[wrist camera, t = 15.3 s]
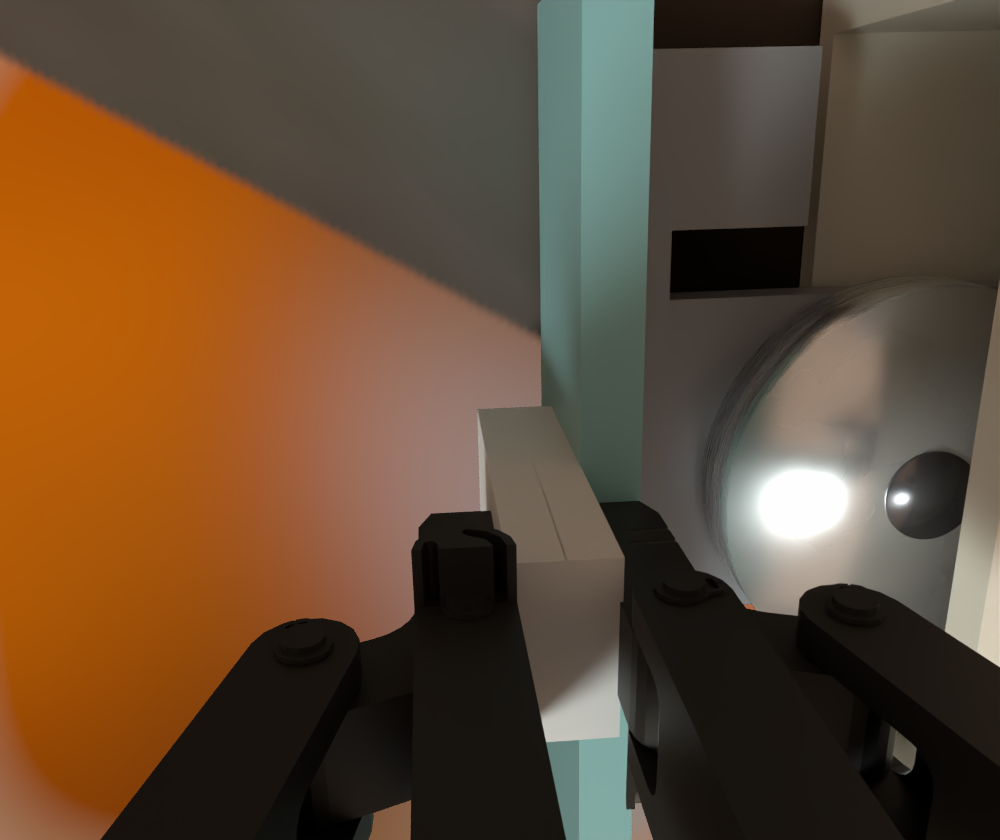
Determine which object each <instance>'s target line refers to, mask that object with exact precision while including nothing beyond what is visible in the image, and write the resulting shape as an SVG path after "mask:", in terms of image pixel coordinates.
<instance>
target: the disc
mask: <svg viewBox="0 0 1000 840" xmlns="http://www.w3.org/2000/svg"><path fill="white" fill-rule="evenodd" d="M997 293H998V289H994V288H990V287H986V286H982V285H978V284H974V283H970V282H966V281H962V280H957V279H951V278H946V277H940V276H926V275H906V276H897V277H887V278H882V279H877V280H873V281H869V282H865V283H861V284H857V285H855V286H852V287H849V288H847V289H844V290H841V291H839V292H836V293H835V294H832V295H831V296H829V297H827V298H825V299H823V300H821V301H819V302H817V303H815V304H813V305H811V306H810V307H808V308H807V309H805V310H804V311H802V312H801V313H799V314H798V315H796V316H795V317H793V318H792V319H791V320H789V321H788V322H786V323H785V324H784V325H783V326H782V327H781V328H779V329H778V330H777V331H776V332H775V333H774V334H773V335H771V336H770V337H769V338H768V339H767V340H766V341H765V342H764V343H763V344H762V345H761V346H760V347H759V348H758V350H757V351H756V352H755V353H754V354H753V355H752V356H751V357H750V358H749V359H748V361H747V362H746V364H745V365H744V366H743V368H742V369H741V371H740V372H739V373H738V375H737V376H736V377H735V379H734V380H733V382H732V384H731V385H730V387H729V389H728V391H727V393H726V394H725V396H724V398H723V400H722V402H721V404H720V406H719V408H718V411H717V413H716V416H715V418H714V421H713V423H712V426H711V428H710V432H709V436H708V440H707V444H706V448H705V452H704V459H703V467H702V476H701V478H702V503H703V509H704V515H705V521H706V525H707V528H708V531H709V534H710V537H711V540H712V543H713V545H714V547H715V549H716V551H717V553H718V555H719V557H720V559H721V561H722V563H723V564H724V566H725V567H726V568H727V570H728V571H729V573H730V574H731V576H732V577H733V579H734V580H735V581H736V583H737V584H738V586H739V587H740V588H741V590H742V591H743V593H744V594H745V595H746V597H747V598H748V600H749V601H750V602H751V604H752V605H753V607H754V608H755V609H756V611H762V612H769V613H777V614H786V615H795V616H798V607H799V599H800V598H801V596H802V595H803V594H804V593H805V592H806V591H807V590H809V589H812V588H815V587H817V586H820V585H833V584H837V583H844V584H848V585H850V584H855V585H861V586H863V587H865V588H867V589H871V590H875V591H878V592H881V593H883V594H885V595H887V596H889V597H891V598H893V599H895V600H897V601H899V602H900V603H902V604H903V605H905V606H907V607H908V608H910V609H911V610H913V611H914V612H916V613H917V614H919V615H920V616H922V617H923V618H925V619H927V620H928V621H930V622H931V623H933V624H934V625H936V626H937V627H939V628H940V629H942V630H943V631H945V627H946V621H947V614H948V608H949V601H950V595H951V589H952V582H953V576H954V569H955V563H956V557H957V550H958V544H959V537H960V531H961V524H962V518H963V512H964V505H965V499H966V492H967V486H968V479H969V473H970V467H971V460H972V454H973V447H974V441H975V435H976V428H977V422H978V415H979V409H980V402H981V396H982V390H983V383H984V377H985V370H986V364H987V357H988V351H989V345H990V338H991V332H992V325H993V319H994V313H995V306H996V300H997Z"/></svg>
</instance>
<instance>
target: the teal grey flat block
mask: <svg viewBox="0 0 1000 840" xmlns="http://www.w3.org/2000/svg"><path fill="white" fill-rule="evenodd" d="M537 21H538V110H539V200H540V290H541V374H542V375H541V376H542V377H541V379H542V406H551V407H552V409H553V411H554V413H555V415H556V417H557V419H558V422H559V424H560V426H561V428H562V430H563V432H564V434H565V436H566V438H567V440H568V442H569V444H570V447H571V449H572V451H573V453H574V455H575V457H576V459H577V461H578V463H579V465H580V467H581V468H582V470H583V472H584V474H585V476H586V478H587V480H588V482H589V485H590V487H591V489H592V491H593V493H594V495H595V497H596V499H597V501H598V503H605V502H624V501H640V502H642V503H643V504H645V505H647V506H648V507H650V508H652V509H653V510H655V511H657V512H658V513H659V514H660V515H661V517H662V519H663V520H664V522H665V523H666V525H667V526H668V530H670V531H671V533H672V534H673V536H674V537H675V541H676V542H678V544H679V545H680V547H681V548H682V550H683V552H684V553H685V555H686V556H687V558H688V560H689V561H690V563H691V564H692V566H693V567H694V569H695V570H697V571H701V572H706V573H708V574H711V575H713V576H715V577H717V578H719V579H722V580H723V581H724V582H725V583H726V584H728V585H729V586H730V587H731V588H732V589H733V590H734V592H735V593H736V595H737V596H738V598H739V599H740V601H741V602H742V604H743V605H744V604H751V602H750V601H749V600H748V598H747V597H746V595H745V594H744V593H743V591H742V590H741V588H740V587H739V586H738V584H737V583H736V581H735V580H734V579H733V577H732V576H731V574H730V573H729V571H728V570H727V568H726V567H725V566H724V564H723V563H722V561H721V559H720V557H719V555H718V553H717V551H716V549H715V547H714V545H713V543H712V540H711V537H710V534H709V531H708V528H707V525H706V521H705V515H704V509H703V503H702V478H701V476H702V467H703V459H704V452H705V448H706V444H707V440H708V436H709V432H710V428H711V426H712V423H713V421H714V418H715V416H716V413H717V411H718V408H719V406H720V404H721V402H722V400H723V398H724V396H725V394H726V393H727V391H728V389H729V387H730V385H731V384H732V382H733V380H734V379H735V377H736V376H737V375H738V373H739V372H740V371H741V369H742V368H743V366H744V365H745V364H746V362H747V361H748V359H749V358H750V357H751V356H752V355H753V354H754V353H755V352H756V351H757V350H758V348H759V347H760V346H761V345H762V344H763V343H764V342H765V341H766V340H767V339H768V338H769V337H770V336H771V335H773V334H774V333H775V332H776V331H777V330H778V329H779V328H781V327H782V326H783V325H784V324H785V323H786V322H788V321H789V320H791V319H792V318H793V317H795V316H796V315H798V314H799V313H801V312H802V311H804V310H805V309H807V308H808V307H810V306H811V305H813V304H815V303H817V302H819V301H821V300H823V299H825V298H827V297H829V296H831V295H832V294H835V293H836V292H839V291H841V290H844V289H847V288H849V287H852V286H855V285H850V286H826V287H801V288H776V289H751V290H726V291H702V292H677V293H670V271H671V243H672V231H673V230H702V229H730V228H759V227H787V226H808V214H809V202H810V190H811V178H812V167H813V155H814V143H815V131H816V119H817V107H818V95H819V84H820V72H821V60H822V48H823V46H783V47H732V48H681V49H653V30H654V0H541V1H540V3H539V4H538V5H537ZM999 280H1000V279H999ZM999 280H974V281H966V282H970V283H974V284H978V285H982V286H986V287H990V288H994V289H998V287H999ZM546 744H547V749H548V754H549V759H550V764H551V768H552V773H553V778H554V783H555V788H556V793H557V797H558V802H559V807H560V812H561V817H562V822H563V827H564V831H565V836H566V840H631V831H632V829H631V828H632V809H628V810H626V777H627V747H628V724H627V721H626V718H625V715H624V712H623V710H622V707H621V704H620V734H619V737H613V738H599V739H585V740H571V741H557V742H546ZM635 803H641V801H640V798H639V795H638V793H637V794H636V795H635Z"/></svg>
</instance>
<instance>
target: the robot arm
mask: <svg viewBox="0 0 1000 840" xmlns="http://www.w3.org/2000/svg"><path fill="white" fill-rule="evenodd" d="M477 413H478V449H479V482H480V511H474V512H455V513H436V514H431V515H430V516H429V517H428V518H427V519H426V520H425V521H424V522H423V523H422V525H421V526H420V527H419V539H418V540H417V541H416V542H415V544H414V546H413V548H412V550H411V553H412V571H413V587H414V606H415V614H414V615H413V617H412V618H411V619H410V621H409V622H407V623H406V624H405V625H403V626H402V627H401V628H399V629H397V630H395V631H393V632H391V633H390V634H387V635H384V636H381V637H378V638H375V639H372V640H369V641H364V642H361V643H360V641H359V638H358V636H357V634H356V633H355V631H354V629H352V628H351V627H349V626H347V625H345V624H344V623H342V622H339V621H334V620H328V619H323V618H321V619H308V618H305V619H298V620H296V621H290V622H287V623H283V624H281V625H279V626H277V627H275V628H273V629H271V630H268V631H266V632H264V633H263V634H262V635H261V636H260V637H258V638H257V639H256V640H255V641H254V642H253V643H251V645H250V646H249V647H248V649H247V650H246V651H245V653H244V654H243V655H242V656H241V658H240V659H239V660H238V662H237V663H236V664H235V665H234V667H233V668H232V669H231V671H230V672H229V673H228V675H227V676H226V677H225V678H224V680H223V681H222V682H221V684H220V685H219V686H218V688H217V689H216V690H215V691H214V693H213V694H212V695H211V697H210V698H209V699H208V701H207V702H206V703H205V705H204V706H203V707H202V709H201V710H200V711H199V712H198V714H197V715H196V716H195V717H194V719H193V720H192V721H191V723H190V724H189V725H188V727H187V728H186V729H185V731H184V732H183V733H182V734H181V736H180V737H179V738H178V740H177V741H176V742H175V743H174V745H173V746H172V747H171V749H170V750H169V751H168V753H167V754H166V755H165V756H164V758H163V759H162V760H161V762H160V763H159V764H158V766H157V767H156V768H155V769H154V771H153V772H152V773H151V775H150V776H149V777H148V779H147V780H146V781H145V783H144V784H143V785H142V786H141V788H140V789H139V790H138V792H137V793H136V794H135V795H134V797H133V798H132V799H131V801H130V802H129V803H128V805H127V806H126V807H125V808H124V810H123V811H122V812H121V814H120V815H119V817H118V818H117V819H116V820H115V822H114V823H113V824H112V825H111V827H110V828H109V829H108V831H107V832H106V833H105V834H104V836H103V837H102V839H101V840H368V839H369V837H370V834H371V831H372V824H373V817H374V816H373V813H374V812H377V811H380V810H383V809H385V808H389V807H392V806H394V805H398V804H400V803H404V802H406V801H409V800H411V840H566V836H565V831H564V827H563V822H562V817H561V812H560V807H559V802H558V797H557V793H556V788H555V783H554V778H553V773H552V768H551V764H550V759H549V754H548V749H547V744H546V742H557V741H571V740H585V739H599V738H613V737H619V734H620V704H621V707H622V710H623V712H624V715H625V718H626V721H627V724H628V747H627V777H626V810H628V809H635V795H636V794H637V793H638V795H639V798H640V801H641V803H642V807H643V810H644V813H645V816H646V819H647V822H648V825H649V828H650V831H651V834H652V837H653V840H1000V667H999V666H997V665H996V664H994V663H993V662H991V661H990V660H988V659H986V658H985V657H983V656H982V655H980V654H979V653H977V652H976V651H974V650H973V649H971V648H970V647H968V646H966V645H965V644H963V643H962V642H960V641H959V640H957V639H956V638H954V637H953V636H951V635H950V634H948V633H946V632H945V631H943V630H942V629H940V628H939V627H937V626H936V625H934V624H933V623H931V622H930V621H928V620H927V619H925V618H923V617H922V616H920V615H919V614H917V613H916V612H914V611H913V610H911V609H910V608H908V607H907V606H905V605H903V604H902V603H900V602H899V601H897V600H895V599H893V598H891V597H889V596H887V595H885V594H883V593H881V592H878V591H875V590H871V589H867V588H865V587H863V586H861V585H855V584H850V585H848V584H844V583H837V584H833V585H820V586H817V587H815V588H812V589H809V590H807V591H806V592H805V593H804V594H803V595H802V596H801V598H800V599H799V607H798V616H795V615H786V614H777V613H769V612H762V611H756V610H750V609H746V608H745V606H744V605H743V604H742V602H741V601H740V599H739V598H738V596H737V595H736V593H735V592H734V590H733V589H732V588H731V587H730V586H729V585H728V584H726V583H725V582H724V581H723V580H722V579H719V578H717V577H715V576H713V575H711V574H708V573H706V572H701V571H697V570H695V569H694V567H693V566H692V564H691V563H690V561H689V560H688V558H687V556H686V555H685V553H684V552H683V550H682V548H681V547H680V545H679V544H678V542H676V541H675V537H674V536H673V534H672V533H671V531H670V530H668V526H667V525H666V523H665V522H664V520H663V519H662V517H661V515H660V514H659V513H658V512H657V511H655V510H653V509H652V508H650V507H648V506H647V505H645V504H643V503H642V502H640V501H624V502H605V503H598V501H597V499H596V497H595V495H594V493H593V491H592V489H591V487H590V485H589V482H588V480H587V478H586V476H585V474H584V472H583V470H582V468H581V467H580V465H579V463H578V461H577V459H576V457H575V455H574V453H573V451H572V449H571V447H570V444H569V442H568V440H567V438H566V436H565V434H564V432H563V430H562V428H561V426H560V424H559V422H558V419H557V417H556V415H555V413H554V411H553V409H552V407H551V406H542V407H519V408H495V409H478V410H477ZM897 731H898V732H899V733H900V734H901V735H903V736H904V737H905V738H906V739H907V740H908V741H910V742H911V743H912V744H913V745H914V746H915V747H916V748H917V750H916V756H915V762H914V766H913V768H912V770H911V769H910V768H908V767H907V766H905V765H904V764H902V763H901V762H900V761H899V760H898V759H897V758H896V757H895V756H893V752H894V745H895V738H896V732H897Z"/></svg>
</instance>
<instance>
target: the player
mask: <svg viewBox="0 0 1000 840" xmlns="http://www.w3.org/2000/svg"><path fill="white" fill-rule="evenodd" d="M819 46H823V48H822V60H821V72H820V84H819V95H818V107H817V119H816V131H815V143H814V155H813V167H812V178H811V190H810V202H809V214H808V226H804V237H803V249H802V261H801V273H800V285H799V288H801V287H826V286H850V285H857V284H861V283H865V282H869V281H873V280H877V279H882V278H887V277H897V276H906V275H926V276H940V277H946V278H951V279H957V280H962V281H974V280H999V279H1000V0H823V9H822V21H821V33H820V45H819ZM945 632H946V633H948V634H950V635H951V636H953V637H954V638H956V639H957V640H959V641H960V642H962V643H963V644H965V645H966V646H968V647H970V648H971V649H973V650H974V651H976V652H977V653H979V654H980V655H982V656H983V657H985V658H986V659H988V660H990V661H991V662H993V663H994V664H996V665H997V666H999V667H1000V280H999V287H998V293H997V300H996V306H995V313H994V319H993V325H992V332H991V338H990V345H989V351H988V357H987V364H986V370H985V377H984V383H983V390H982V396H981V402H980V409H979V415H978V422H977V428H976V435H975V441H974V447H973V454H972V460H971V467H970V473H969V479H968V486H967V492H966V499H965V505H964V512H963V518H962V524H961V531H960V537H959V544H958V550H957V557H956V563H955V569H954V576H953V582H952V589H951V595H950V601H949V608H948V614H947V621H946V627H945ZM916 750H917V748H916V747H915V746H914V745H913V744H912V743H911V742H910V741H908V740H907V739H906V738H905V737H904V736H903V735H901V734H900V733H899V732H898V731H897V732H896V738H895V745H894V752H893V756H895V757H896V758H897V759H898V760H899V761H900V762H901V763H902V764H904V765H905V766H907V767H908V768H910V769H911V770H912V768H913V766H914V762H915V756H916Z"/></svg>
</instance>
